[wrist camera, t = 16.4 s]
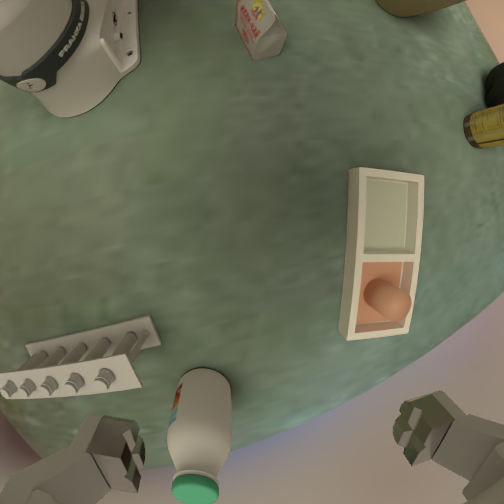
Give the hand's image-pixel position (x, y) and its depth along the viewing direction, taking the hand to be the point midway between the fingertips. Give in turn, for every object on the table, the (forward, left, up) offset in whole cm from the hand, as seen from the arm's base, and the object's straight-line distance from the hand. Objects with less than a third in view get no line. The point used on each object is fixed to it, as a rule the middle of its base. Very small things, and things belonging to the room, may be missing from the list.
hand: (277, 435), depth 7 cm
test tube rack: (+14, -23, -31) cm, 41 cm away
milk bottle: (+20, -5, -30) cm, 37 cm away
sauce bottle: (-21, +39, -30) cm, 54 cm away
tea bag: (-29, +2, -30) cm, 42 cm away
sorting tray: (0, +19, -30) cm, 36 cm away
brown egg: (+5, +19, -29) cm, 35 cm away
